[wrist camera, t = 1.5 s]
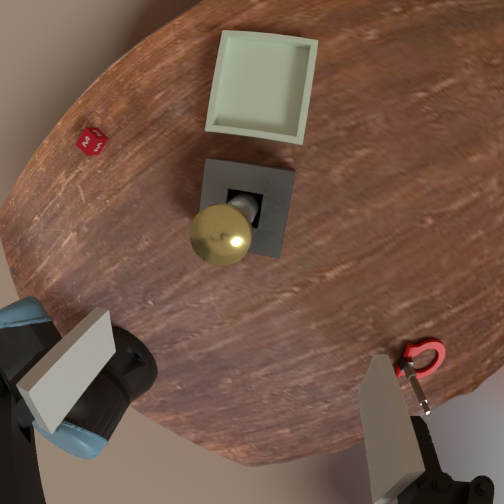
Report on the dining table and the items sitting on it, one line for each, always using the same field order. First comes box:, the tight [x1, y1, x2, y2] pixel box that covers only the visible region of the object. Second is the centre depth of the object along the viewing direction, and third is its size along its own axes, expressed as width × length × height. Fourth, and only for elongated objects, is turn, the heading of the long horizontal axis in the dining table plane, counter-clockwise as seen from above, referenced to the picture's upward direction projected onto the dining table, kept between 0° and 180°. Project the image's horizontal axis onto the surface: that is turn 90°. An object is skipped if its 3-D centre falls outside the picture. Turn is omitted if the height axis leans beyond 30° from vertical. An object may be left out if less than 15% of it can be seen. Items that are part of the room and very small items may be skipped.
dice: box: [76, 127, 108, 156], centre depth 36 cm, size 3×3×3 cm
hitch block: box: [199, 157, 295, 258], centre depth 35 cm, size 10×10×5 cm
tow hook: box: [395, 339, 446, 414], centre depth 37 cm, size 8×13×9 cm
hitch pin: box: [190, 191, 262, 266], centre depth 30 cm, size 5×5×16 cm
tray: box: [205, 30, 318, 145], centre depth 31 cm, size 12×14×2 cm
